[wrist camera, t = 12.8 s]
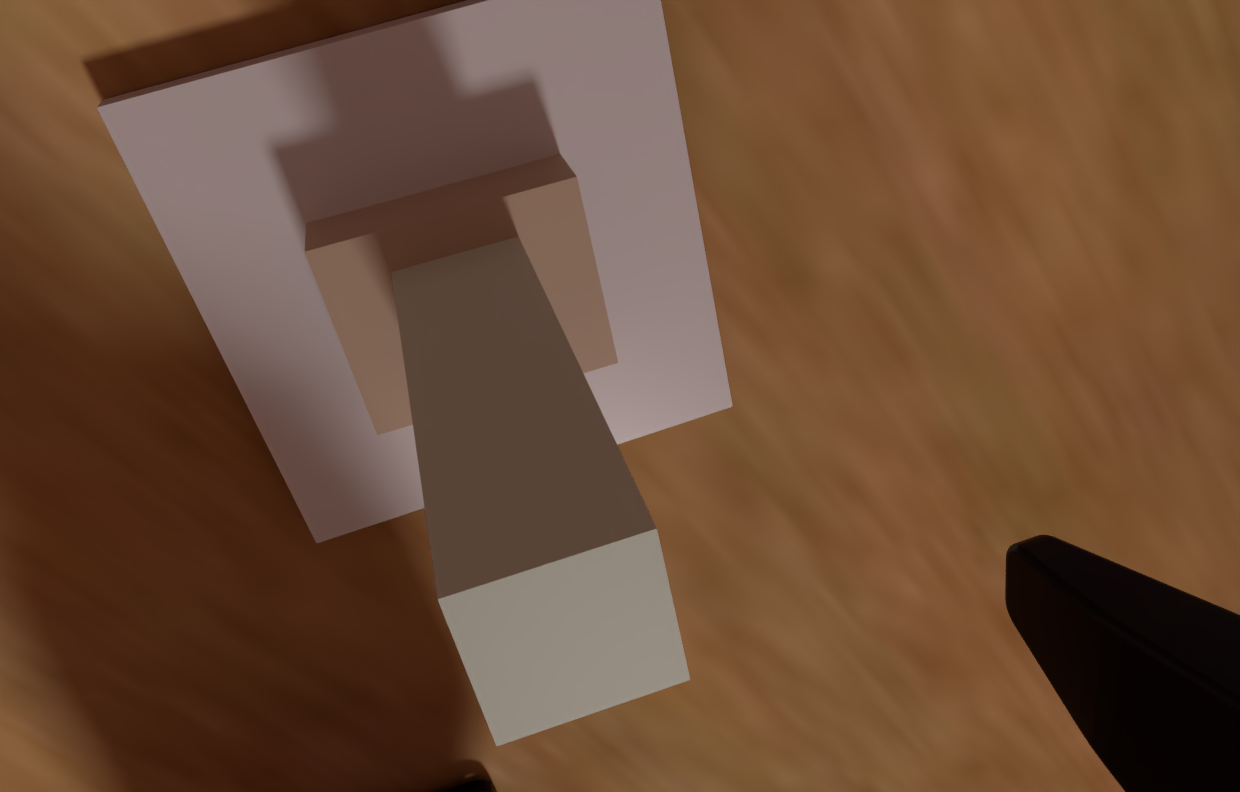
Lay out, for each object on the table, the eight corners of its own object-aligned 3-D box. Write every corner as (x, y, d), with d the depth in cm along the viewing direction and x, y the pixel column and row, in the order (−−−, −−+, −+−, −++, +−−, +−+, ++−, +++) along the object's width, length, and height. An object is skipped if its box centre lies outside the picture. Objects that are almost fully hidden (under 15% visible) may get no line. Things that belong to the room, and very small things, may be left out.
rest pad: (723, 394, 23) (732, 406, 23) (316, 527, 22) (316, 543, 22) (643, -48, 18) (652, -46, 18) (103, 99, 17) (96, 107, 16)
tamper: (601, 331, 21) (797, 689, 12) (374, 398, 20) (409, 825, 12) (560, 154, 19) (762, 431, 10) (306, 223, 18) (284, 583, 9)
